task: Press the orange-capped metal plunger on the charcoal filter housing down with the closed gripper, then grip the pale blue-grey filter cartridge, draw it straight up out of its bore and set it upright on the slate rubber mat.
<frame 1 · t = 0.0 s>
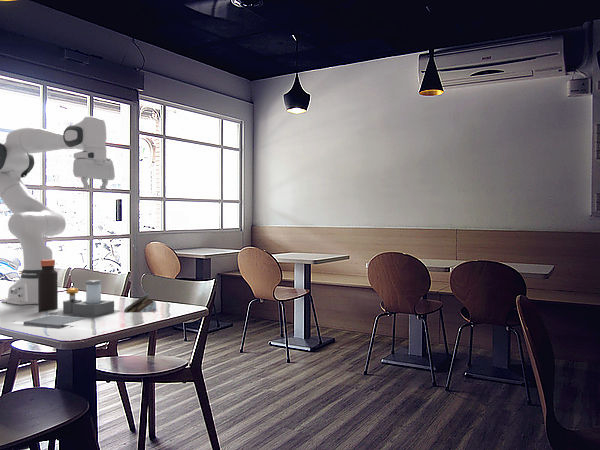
hand: (95, 189, 211), 48 cm above the table, tool pointing down, fingers open, 8 cm apart
housing: (85, 315, 192), on the table
cartridge: (93, 313, 191), point 1 cm above the table, touching housing
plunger: (72, 296, 194), point 7 cm above the table, slide at 0.0 cm
bottle: (48, 311, 199), on the table
chocolate cake: (142, 314, 196), on the table
mat: (55, 322, 178), on the table
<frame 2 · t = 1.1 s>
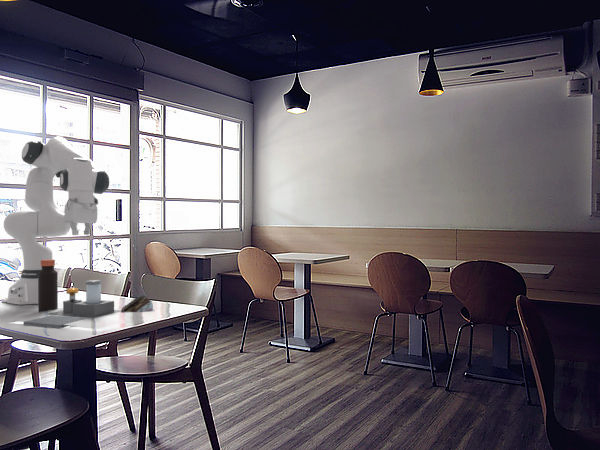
hand: (81, 234, 198), 30 cm above the table, tool pointing down, fingers open, 8 cm apart
chocolate cake: (139, 314, 197), on the table
everything else where it was.
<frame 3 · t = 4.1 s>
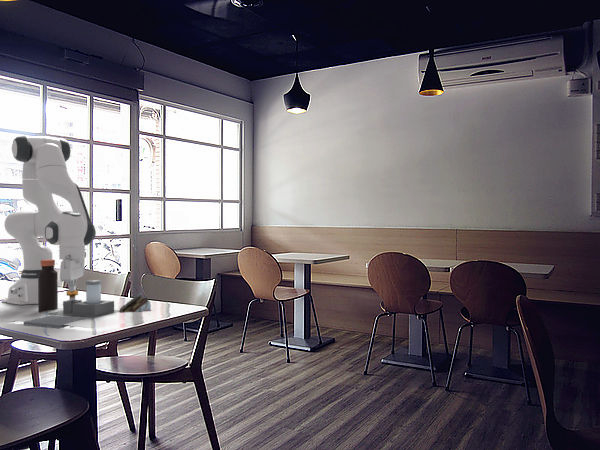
hand: (72, 290, 194), 9 cm above the table, tool pointing down, fingers closed
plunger: (72, 298, 194), point 6 cm above the table, slide at 0.8 cm, touching gripper
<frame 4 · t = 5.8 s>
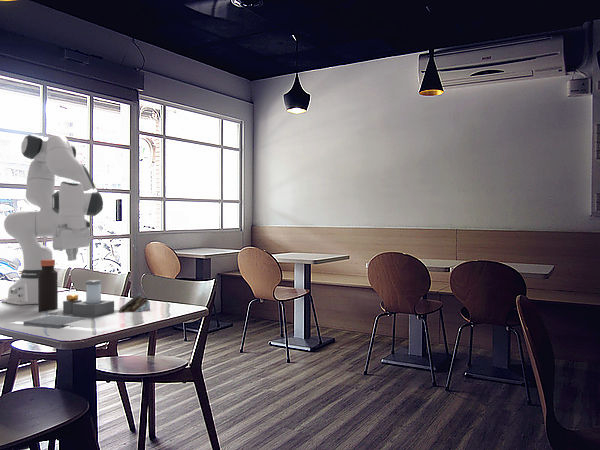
hand: (72, 260, 194), 20 cm above the table, tool pointing down, fingers closed
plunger: (72, 302, 194), point 4 cm above the table, slide at 2.5 cm
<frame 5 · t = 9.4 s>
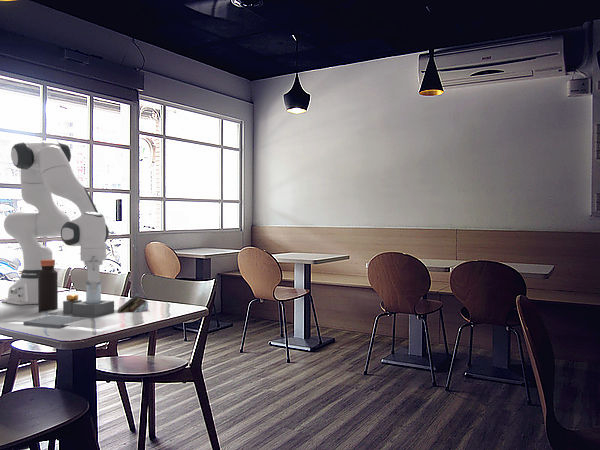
hand: (93, 292, 190), 9 cm above the table, tool pointing down, fingers closed on cartridge, 5 cm apart
cartridge: (93, 313, 191), point 1 cm above the table, touching gripper, housing
when the fingers open (10 cm above the table, at t = 17.7 s): cartridge drops 1 cm, resting on mat.
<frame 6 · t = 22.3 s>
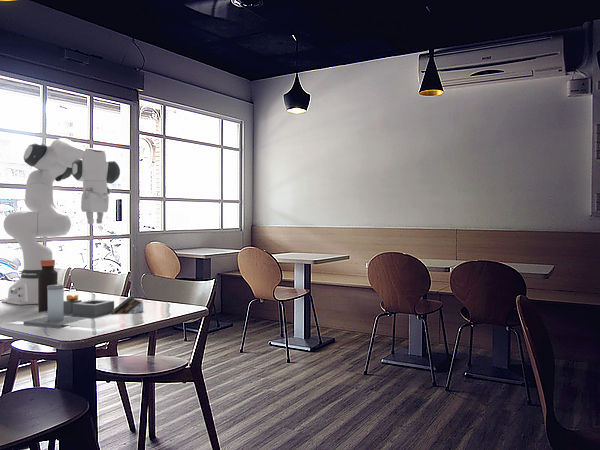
hand: (95, 223, 203), 34 cm above the table, tool pointing down, fingers open, 8 cm apart
cartridge: (55, 320, 178), point 1 cm above the table, touching mat
chocolate cake: (129, 315, 193), on the table
everything else where it was.
at the end: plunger slide at 2.5 cm; cartridge inside the target area (0.1 cm from its centre), point 1.0 cm above the table; cartridge tilted 0° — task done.
